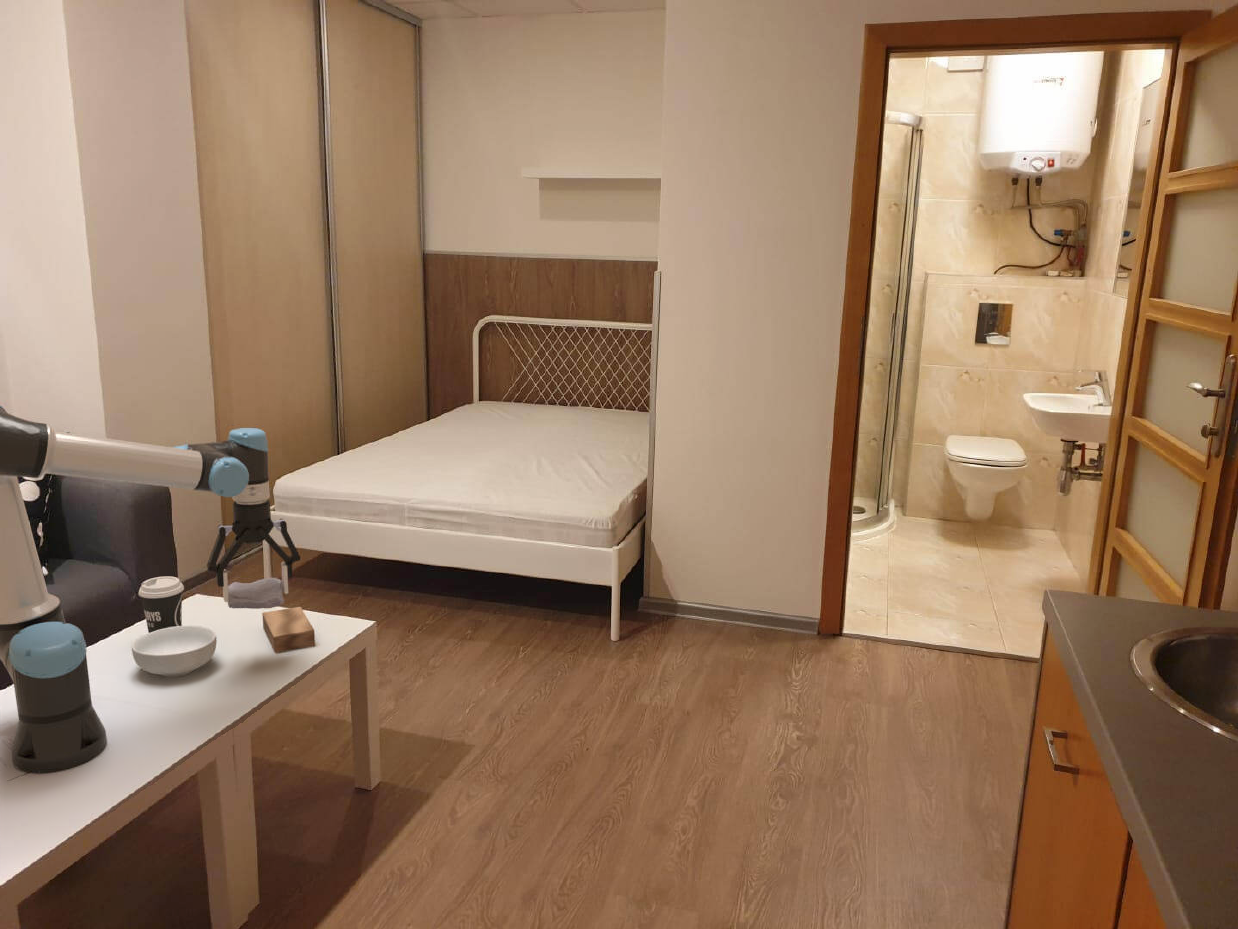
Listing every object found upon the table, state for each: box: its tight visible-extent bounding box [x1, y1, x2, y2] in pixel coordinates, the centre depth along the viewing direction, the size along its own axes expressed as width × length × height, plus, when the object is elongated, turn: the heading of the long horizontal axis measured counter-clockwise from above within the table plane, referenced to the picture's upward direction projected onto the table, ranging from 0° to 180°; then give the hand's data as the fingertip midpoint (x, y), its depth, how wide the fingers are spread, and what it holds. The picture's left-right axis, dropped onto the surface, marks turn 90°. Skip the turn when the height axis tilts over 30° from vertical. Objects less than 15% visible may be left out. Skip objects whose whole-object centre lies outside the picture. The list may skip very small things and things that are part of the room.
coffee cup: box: [138, 575, 185, 633], centre depth 222 cm, size 10×10×15 cm
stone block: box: [227, 577, 285, 610], centre depth 211 cm, size 12×5×10 cm
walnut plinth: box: [262, 606, 316, 654], centre depth 228 cm, size 9×16×4 cm, turn 29°
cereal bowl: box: [131, 625, 217, 678], centre depth 210 cm, size 17×17×7 cm
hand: (256, 595), depth 210 cm, fingers closed on stone block, 12 cm apart
